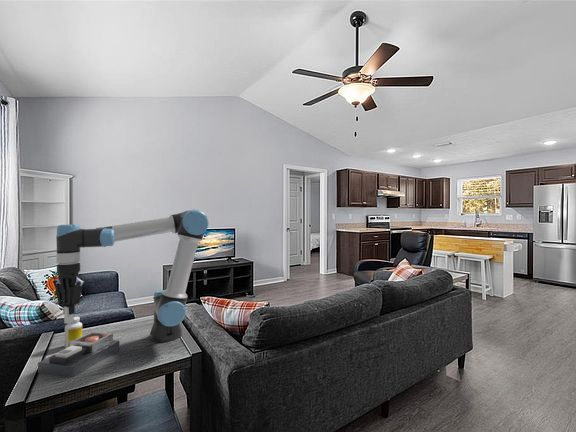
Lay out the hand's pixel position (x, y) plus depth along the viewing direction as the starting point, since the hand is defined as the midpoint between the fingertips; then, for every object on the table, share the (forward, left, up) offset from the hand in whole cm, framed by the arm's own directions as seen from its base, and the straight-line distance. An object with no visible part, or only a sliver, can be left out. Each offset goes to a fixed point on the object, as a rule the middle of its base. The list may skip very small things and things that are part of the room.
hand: (69, 322), depth 116 cm
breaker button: (0, -11, -14) cm, 18 cm away
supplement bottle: (+16, -17, -18) cm, 30 cm away
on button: (0, 0, -14) cm, 14 cm away
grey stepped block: (0, -6, -18) cm, 19 cm away
